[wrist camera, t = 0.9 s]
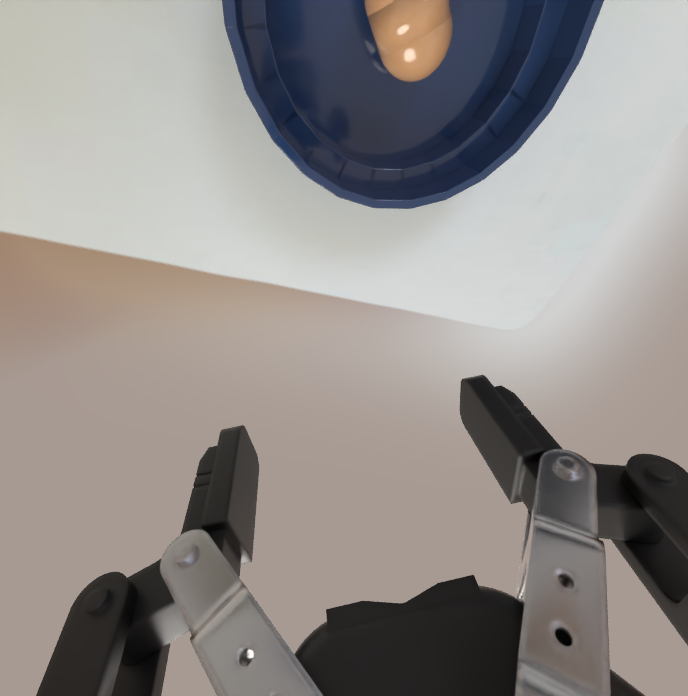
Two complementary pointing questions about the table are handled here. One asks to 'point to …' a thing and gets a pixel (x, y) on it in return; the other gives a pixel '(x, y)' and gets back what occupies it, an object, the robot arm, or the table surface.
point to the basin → (404, 92)
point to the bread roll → (411, 35)
